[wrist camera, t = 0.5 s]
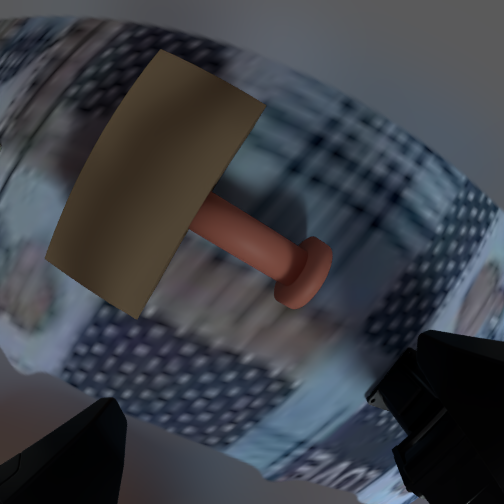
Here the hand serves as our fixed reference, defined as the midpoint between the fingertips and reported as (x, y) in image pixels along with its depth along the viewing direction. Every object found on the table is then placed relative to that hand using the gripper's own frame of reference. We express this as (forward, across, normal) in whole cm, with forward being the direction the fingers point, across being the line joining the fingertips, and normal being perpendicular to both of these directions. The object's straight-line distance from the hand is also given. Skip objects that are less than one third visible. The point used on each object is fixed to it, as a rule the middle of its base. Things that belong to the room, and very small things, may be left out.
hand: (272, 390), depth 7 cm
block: (+12, +4, -7) cm, 15 cm away
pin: (+12, 0, -3) cm, 13 cm away
